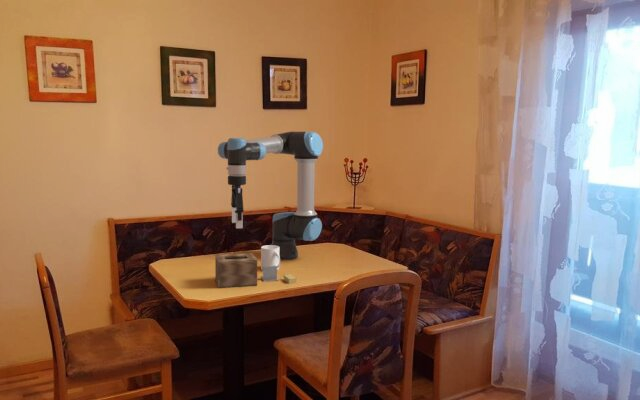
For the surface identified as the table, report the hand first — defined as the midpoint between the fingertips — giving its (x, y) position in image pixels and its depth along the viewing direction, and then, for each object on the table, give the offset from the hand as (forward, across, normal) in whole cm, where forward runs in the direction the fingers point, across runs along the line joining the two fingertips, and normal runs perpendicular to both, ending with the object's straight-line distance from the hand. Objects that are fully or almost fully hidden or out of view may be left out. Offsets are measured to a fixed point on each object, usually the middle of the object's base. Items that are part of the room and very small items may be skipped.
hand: (237, 225), depth 218 cm
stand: (+24, 0, +14) cm, 28 cm away
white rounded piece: (+25, -16, +18) cm, 35 cm away
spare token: (+25, +5, +22) cm, 34 cm away
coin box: (+24, +2, -1) cm, 24 cm away
